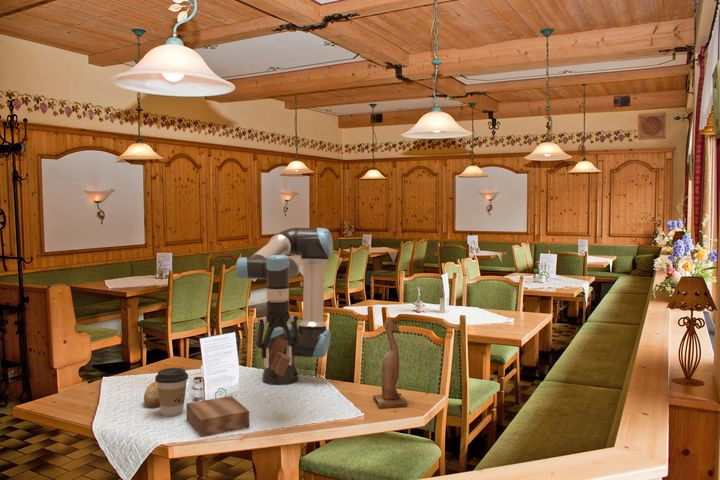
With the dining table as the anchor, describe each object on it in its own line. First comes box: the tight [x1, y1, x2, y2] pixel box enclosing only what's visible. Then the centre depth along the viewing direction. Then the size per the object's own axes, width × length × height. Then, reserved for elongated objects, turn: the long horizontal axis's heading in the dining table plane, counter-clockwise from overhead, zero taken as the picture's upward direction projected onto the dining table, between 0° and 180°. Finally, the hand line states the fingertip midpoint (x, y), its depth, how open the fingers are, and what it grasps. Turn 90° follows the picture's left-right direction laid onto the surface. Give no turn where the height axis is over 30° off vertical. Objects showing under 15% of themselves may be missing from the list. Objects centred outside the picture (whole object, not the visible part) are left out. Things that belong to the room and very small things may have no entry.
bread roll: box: [143, 381, 160, 408], centre depth 222 cm, size 10×15×8 cm, turn 177°
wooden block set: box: [269, 336, 296, 376], centre depth 204 cm, size 18×9×10 cm, turn 3°
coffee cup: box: [154, 367, 189, 417], centre depth 210 cm, size 11×11×15 cm
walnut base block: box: [186, 395, 250, 438], centre depth 201 cm, size 16×18×6 cm
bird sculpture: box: [372, 318, 408, 409], centre depth 222 cm, size 11×12×32 cm
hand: (277, 365), depth 205 cm, fingers closed on wooden block set, 7 cm apart
